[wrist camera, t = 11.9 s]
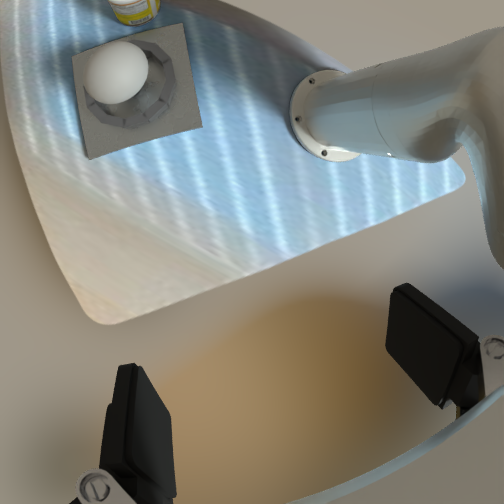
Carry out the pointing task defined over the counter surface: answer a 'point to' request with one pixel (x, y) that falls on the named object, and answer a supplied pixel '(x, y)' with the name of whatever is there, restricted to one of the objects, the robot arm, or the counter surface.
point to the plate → (143, 97)
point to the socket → (156, 108)
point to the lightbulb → (115, 72)
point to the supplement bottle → (135, 11)
